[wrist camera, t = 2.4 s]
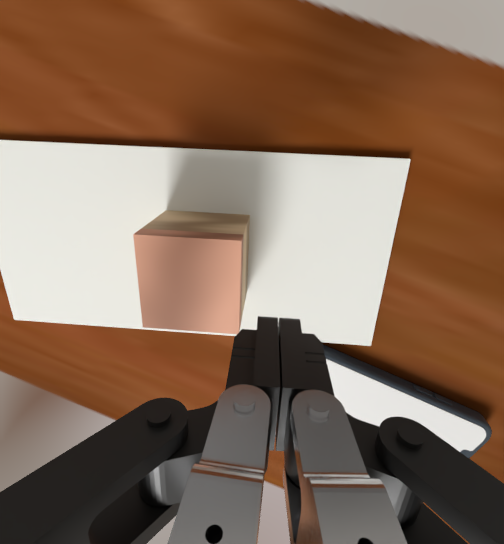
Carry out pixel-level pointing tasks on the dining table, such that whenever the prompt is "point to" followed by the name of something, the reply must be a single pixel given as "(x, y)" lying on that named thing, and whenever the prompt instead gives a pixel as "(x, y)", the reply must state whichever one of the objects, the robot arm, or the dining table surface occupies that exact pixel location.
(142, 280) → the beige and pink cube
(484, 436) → the phone case
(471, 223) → the dining table surface
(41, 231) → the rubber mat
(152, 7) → the dining table surface
